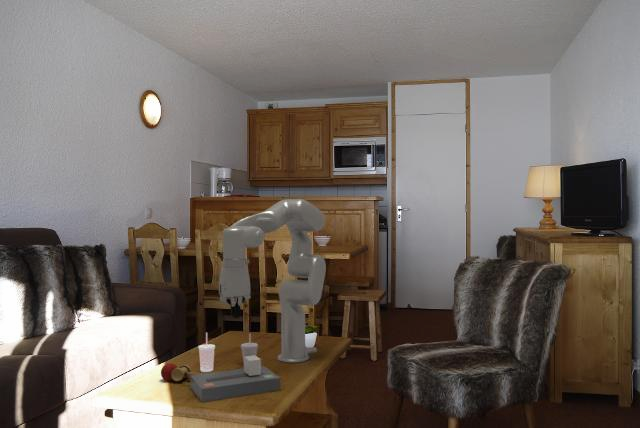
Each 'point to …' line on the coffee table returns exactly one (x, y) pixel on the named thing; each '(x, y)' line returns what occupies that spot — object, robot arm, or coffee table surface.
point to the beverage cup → (206, 356)
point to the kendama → (176, 372)
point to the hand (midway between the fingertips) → (235, 317)
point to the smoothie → (249, 348)
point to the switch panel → (233, 384)
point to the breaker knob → (252, 365)
